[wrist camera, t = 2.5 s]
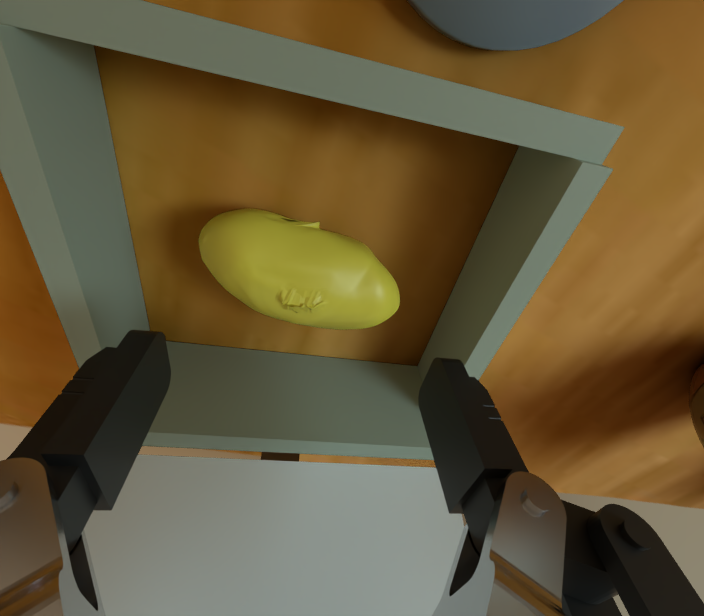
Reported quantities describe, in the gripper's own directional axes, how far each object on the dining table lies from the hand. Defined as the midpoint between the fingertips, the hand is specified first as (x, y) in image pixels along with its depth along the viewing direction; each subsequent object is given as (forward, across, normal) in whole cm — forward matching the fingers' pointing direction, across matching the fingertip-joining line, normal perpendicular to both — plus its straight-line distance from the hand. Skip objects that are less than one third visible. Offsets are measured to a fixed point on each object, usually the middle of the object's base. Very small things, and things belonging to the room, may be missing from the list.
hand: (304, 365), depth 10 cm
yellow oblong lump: (+6, 0, -1) cm, 6 cm away
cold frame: (+6, 0, -1) cm, 6 cm away
